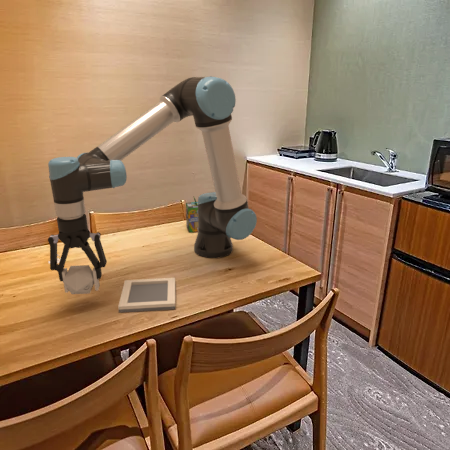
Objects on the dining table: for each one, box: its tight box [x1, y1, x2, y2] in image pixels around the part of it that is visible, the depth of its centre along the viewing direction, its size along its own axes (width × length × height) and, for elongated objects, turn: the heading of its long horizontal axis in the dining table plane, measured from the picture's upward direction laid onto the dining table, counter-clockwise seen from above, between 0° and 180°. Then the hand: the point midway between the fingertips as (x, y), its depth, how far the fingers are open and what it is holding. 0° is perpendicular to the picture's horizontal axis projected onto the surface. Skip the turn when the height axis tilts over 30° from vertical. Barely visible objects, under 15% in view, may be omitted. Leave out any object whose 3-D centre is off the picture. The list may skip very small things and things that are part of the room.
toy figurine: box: [47, 253, 61, 265], centre depth 141 cm, size 5×8×7 cm, turn 31°
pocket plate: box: [117, 277, 176, 313], centre depth 119 cm, size 16×16×2 cm
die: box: [62, 264, 95, 295], centre depth 112 cm, size 8×9×10 cm
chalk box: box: [185, 196, 198, 233], centre depth 174 cm, size 9×9×15 cm
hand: (82, 289), depth 114 cm, fingers closed on die, 8 cm apart
